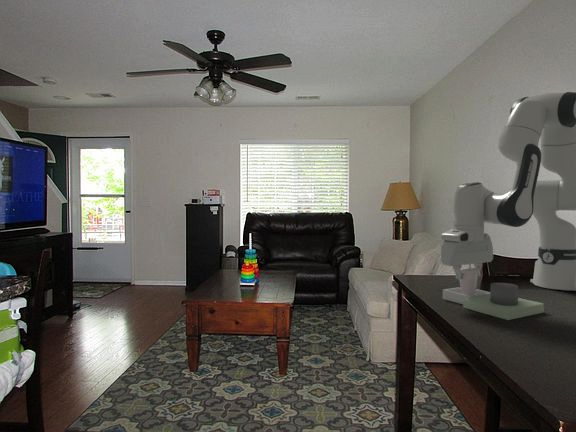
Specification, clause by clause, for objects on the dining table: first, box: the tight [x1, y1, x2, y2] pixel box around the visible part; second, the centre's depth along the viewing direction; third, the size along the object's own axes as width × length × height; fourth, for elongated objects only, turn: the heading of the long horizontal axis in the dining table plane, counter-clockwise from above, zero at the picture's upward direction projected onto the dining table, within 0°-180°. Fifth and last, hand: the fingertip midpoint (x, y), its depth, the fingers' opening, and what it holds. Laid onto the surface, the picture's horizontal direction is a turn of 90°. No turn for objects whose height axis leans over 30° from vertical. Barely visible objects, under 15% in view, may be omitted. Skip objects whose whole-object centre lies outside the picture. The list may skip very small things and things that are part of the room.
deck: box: [442, 282, 545, 321], centre depth 121 cm, size 16×24×8 cm, turn 27°
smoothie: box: [458, 264, 479, 296], centre depth 127 cm, size 6×6×14 cm
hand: (467, 278), depth 127 cm, fingers closed on smoothie, 6 cm apart
